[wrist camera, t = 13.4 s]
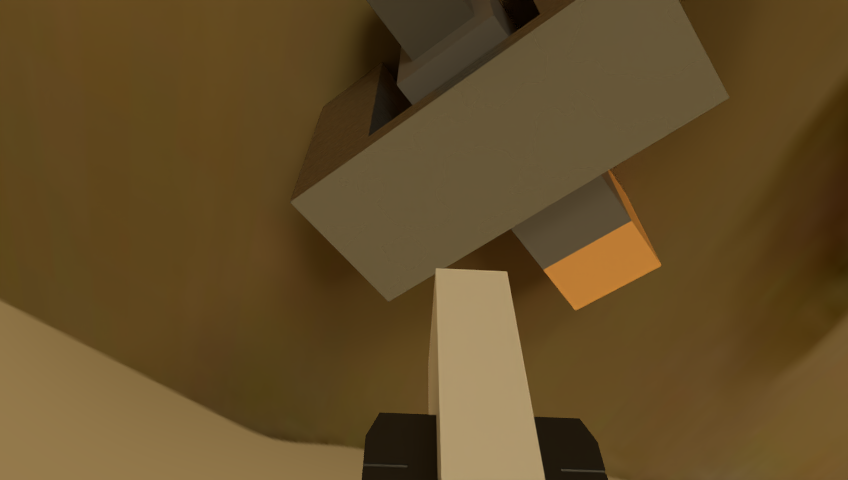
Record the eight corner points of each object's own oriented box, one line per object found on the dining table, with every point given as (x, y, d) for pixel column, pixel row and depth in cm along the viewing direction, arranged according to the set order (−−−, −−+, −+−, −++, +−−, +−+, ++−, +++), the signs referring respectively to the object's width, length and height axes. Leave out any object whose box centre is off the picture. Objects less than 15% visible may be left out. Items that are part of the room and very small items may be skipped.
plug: (361, -18, 30) (346, 21, 25) (442, -84, 28) (445, -57, 23) (554, 236, 37) (575, 310, 32) (626, 195, 36) (661, 265, 30)
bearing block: (323, 106, 33) (289, 202, 25) (588, -94, 28) (650, -53, 20) (397, 191, 36) (388, 301, 28) (652, 21, 31) (729, 97, 23)
